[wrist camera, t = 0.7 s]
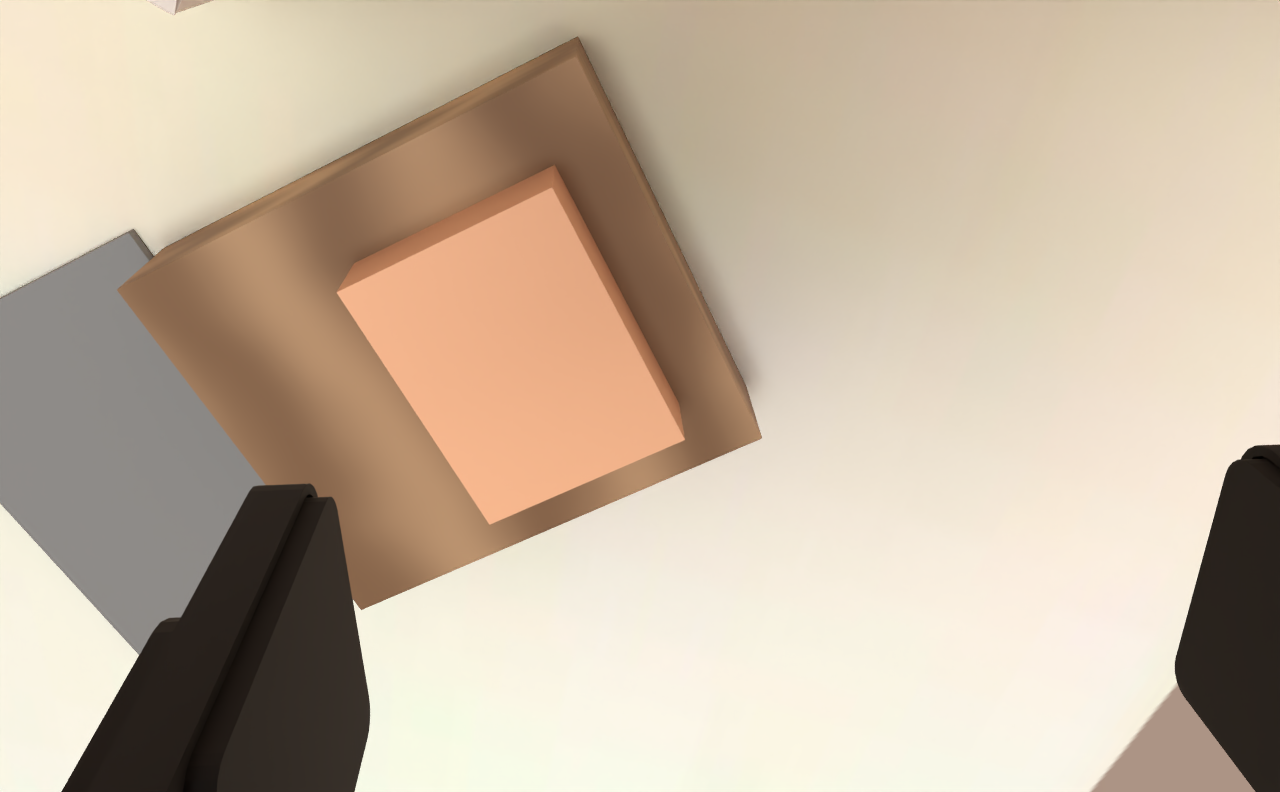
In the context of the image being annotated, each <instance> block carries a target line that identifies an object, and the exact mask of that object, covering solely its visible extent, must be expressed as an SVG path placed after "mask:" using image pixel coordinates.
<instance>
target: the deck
mask: <svg viewBox="0 0 1280 792" xmlns="http://www.w3.org/2000/svg"><path fill="white" fill-rule="evenodd" d="M553 165H555V166H556V168H557V170H558V172H559V174H560V176H561V178H562V180H563V182H564V184H565V186H566V187H567V189H568V191H569V193H570V195H571V197H572V199H573V201H574V203H575V205H576V207H577V209H578V211H579V212H580V214H581V216H582V218H583V220H584V222H585V224H586V226H587V228H588V230H589V232H590V234H591V236H592V237H593V239H594V241H595V243H596V245H597V247H598V249H599V251H600V253H601V255H602V257H603V259H604V261H605V262H606V264H607V266H608V268H609V270H610V272H611V274H612V276H613V278H614V280H615V282H616V284H617V286H618V287H619V289H620V291H621V293H622V295H623V297H624V299H625V301H626V303H627V305H628V307H629V309H630V310H631V312H632V314H633V316H634V318H635V320H636V322H637V324H638V326H639V328H640V330H641V332H642V334H643V335H644V337H645V339H646V341H647V343H648V345H649V347H650V349H651V351H652V353H653V355H654V357H655V359H656V360H657V362H658V364H659V366H660V368H661V370H662V372H663V374H664V376H665V378H666V380H667V382H668V384H669V385H670V387H671V389H672V391H673V393H674V395H675V397H676V399H677V401H678V403H679V407H680V413H681V419H682V425H683V431H684V437H685V440H684V441H682V442H679V443H677V444H675V445H672V446H670V447H668V448H665V449H663V450H661V451H658V452H656V453H654V454H652V455H649V456H647V457H645V458H642V459H640V460H638V461H635V462H633V463H631V464H629V465H626V466H624V467H622V468H619V469H617V470H615V471H612V472H610V473H608V474H605V475H603V476H601V477H599V478H596V479H594V480H592V481H589V482H587V483H585V484H582V485H580V486H578V487H576V488H573V489H571V490H569V491H566V492H564V493H562V494H559V495H557V496H555V497H552V498H550V499H548V500H546V501H543V502H541V503H539V504H536V505H534V506H532V507H529V508H527V509H525V510H522V511H520V512H518V513H516V514H513V515H511V516H509V517H506V518H504V519H502V520H499V521H497V522H495V523H493V524H490V525H489V523H488V522H487V520H486V519H485V517H484V516H483V514H482V513H481V511H480V510H479V508H478V507H477V505H476V504H475V502H474V501H473V499H472V498H471V496H470V494H469V493H468V491H467V490H466V488H465V487H464V485H463V484H462V482H461V481H460V479H459V478H458V476H457V475H456V473H455V472H454V470H453V469H452V467H451V466H450V464H449V463H448V461H447V460H446V458H445V457H444V455H443V453H442V452H441V450H440V449H439V447H438V446H437V444H436V443H435V441H434V440H433V438H432V437H431V435H430V434H429V432H428V431H427V429H426V428H425V426H424V425H423V423H422V422H421V420H420V419H419V417H418V416H417V414H416V413H415V411H414V409H413V408H412V406H411V405H410V403H409V402H408V400H407V399H406V397H405V396H404V394H403V393H402V391H401V390H400V388H399V387H398V385H397V384H396V382H395V381H394V379H393V378H392V376H391V375H390V373H389V372H388V370H387V368H386V367H385V365H384V364H383V362H382V361H381V359H380V358H379V356H378V355H377V353H376V352H375V350H374V349H373V347H372V346H371V344H370V343H369V341H368V340H367V338H366V337H365V335H364V334H363V332H362V331H361V329H360V327H359V326H358V324H357V323H356V321H355V320H354V318H353V317H352V315H351V314H350V312H349V311H348V309H347V308H346V306H345V305H344V303H343V302H342V300H341V299H340V297H339V296H338V294H337V293H336V292H337V291H338V289H339V287H340V286H341V284H342V282H343V281H344V279H345V277H346V276H347V274H348V272H349V271H350V269H351V267H352V266H353V264H354V263H356V262H358V261H360V260H362V259H364V258H366V257H368V256H370V255H372V254H374V253H376V252H378V251H380V250H382V249H384V248H386V247H388V246H390V245H392V244H394V243H396V242H398V241H401V240H403V239H405V238H407V237H409V236H411V235H413V234H415V233H417V232H419V231H421V230H423V229H425V228H427V227H429V226H431V225H433V224H435V223H437V222H439V221H441V220H443V219H445V218H447V217H449V216H451V215H453V214H455V213H458V212H460V211H462V210H464V209H466V208H468V207H470V206H472V205H474V204H476V203H478V202H480V201H482V200H484V199H486V198H488V197H490V196H492V195H494V194H496V193H498V192H500V191H502V190H504V189H506V188H508V187H510V186H513V185H515V184H517V183H519V182H521V181H523V180H525V179H527V178H529V177H531V176H533V175H535V174H537V173H539V172H541V171H543V170H545V169H547V168H549V167H551V166H553ZM117 291H118V292H119V294H120V295H121V296H122V298H123V299H124V300H125V301H126V303H127V304H128V305H129V307H130V308H131V309H132V311H133V312H134V313H135V315H136V316H137V317H138V318H139V320H140V321H141V322H142V324H143V325H144V326H145V328H146V329H147V330H148V332H149V333H150V334H151V335H152V337H153V338H154V339H155V341H156V342H157V343H158V345H159V346H160V347H161V349H162V350H163V351H164V352H165V354H166V355H167V356H168V358H169V359H170V360H171V362H172V363H173V364H174V366H175V367H176V368H177V369H178V371H179V372H180V373H181V375H182V376H183V377H184V379H185V380H186V381H187V383H188V384H189V385H190V386H191V388H192V389H193V390H194V392H195V393H196V394H197V396H198V397H199V398H200V400H201V401H202V402H203V403H204V405H205V406H206V407H207V409H208V410H209V411H210V413H211V414H212V415H213V417H214V418H215V419H216V420H217V422H218V423H219V424H220V426H221V427H222V428H223V430H224V431H225V432H226V434H227V435H228V436H229V437H230V439H231V440H232V441H233V443H234V444H235V445H236V447H237V448H238V449H239V451H240V452H241V453H242V454H243V456H244V457H245V458H246V460H247V461H248V462H249V464H250V465H251V466H252V468H253V469H254V470H255V471H256V473H257V474H258V475H259V477H260V478H261V479H262V481H263V482H264V483H265V485H283V484H308V483H311V484H312V485H313V486H314V488H315V490H316V492H317V495H318V497H332V498H333V499H334V500H335V503H336V506H337V510H338V516H339V522H340V528H341V534H342V540H343V546H344V552H345V558H346V564H347V570H348V576H349V581H350V587H351V593H352V598H353V600H354V601H355V602H356V604H357V605H358V606H359V608H360V609H361V610H362V609H365V608H367V607H369V606H372V605H374V604H376V603H379V602H381V601H383V600H386V599H388V598H390V597H393V596H395V595H397V594H400V593H402V592H404V591H407V590H409V589H411V588H414V587H416V586H418V585H421V584H423V583H425V582H428V581H430V580H432V579H435V578H437V577H439V576H442V575H444V574H446V573H449V572H451V571H453V570H456V569H458V568H460V567H463V566H465V565H467V564H470V563H472V562H474V561H477V560H479V559H481V558H484V557H486V556H488V555H491V554H493V553H495V552H498V551H500V550H502V549H505V548H507V547H509V546H512V545H514V544H516V543H519V542H521V541H523V540H526V539H528V538H530V537H533V536H535V535H537V534H540V533H542V532H544V531H547V530H549V529H551V528H554V527H556V526H558V525H561V524H563V523H565V522H568V521H570V520H572V519H575V518H577V517H579V516H582V515H584V514H586V513H589V512H591V511H593V510H596V509H598V508H600V507H603V506H605V505H607V504H610V503H612V502H614V501H617V500H619V499H621V498H624V497H626V496H628V495H631V494H633V493H635V492H638V491H640V490H642V489H645V488H647V487H649V486H652V485H654V484H656V483H659V482H661V481H663V480H666V479H668V478H670V477H673V476H675V475H677V474H680V473H682V472H684V471H687V470H689V469H691V468H694V467H696V466H698V465H701V464H703V463H705V462H708V461H710V460H712V459H715V458H717V457H719V456H722V455H724V454H726V453H729V452H731V451H733V450H736V449H738V448H740V447H743V446H745V445H747V444H750V443H752V442H754V441H757V440H759V439H761V438H762V437H761V433H760V430H759V427H758V424H757V420H756V417H755V414H754V410H753V407H752V404H751V401H750V397H749V394H748V391H747V387H746V385H745V383H744V381H743V379H742V377H741V375H740V373H739V371H738V368H737V366H736V364H735V362H734V360H733V358H732V356H731V354H730V352H729V350H728V348H727V346H726V344H725V341H724V339H723V337H722V335H721V333H720V331H719V329H718V327H717V325H716V323H715V321H714V319H713V317H712V314H711V312H710V310H709V308H708V306H707V304H706V302H705V300H704V298H703V296H702V294H701V292H700V290H699V287H698V285H697V283H696V281H695V279H694V277H693V275H692V273H691V271H690V269H689V267H688V265H687V263H686V260H685V258H684V256H683V254H682V252H681V250H680V248H679V246H678V244H677V242H676V240H675V238H674V236H673V233H672V231H671V229H670V227H669V225H668V223H667V221H666V219H665V217H664V215H663V213H662V211H661V209H660V206H659V204H658V202H657V200H656V198H655V196H654V194H653V192H652V190H651V188H650V186H649V184H648V182H647V179H646V177H645V175H644V173H643V171H642V169H641V167H640V165H639V163H638V161H637V159H636V157H635V154H634V152H633V150H632V148H631V146H630V144H629V142H628V140H627V138H626V136H625V134H624V132H623V130H622V127H621V125H620V123H619V121H618V119H617V117H616V115H615V113H614V111H613V109H612V107H611V105H610V103H609V100H608V98H607V96H606V94H605V92H604V90H603V88H602V86H601V84H600V82H599V80H598V78H597V76H596V73H595V71H594V69H593V67H592V65H591V63H590V61H589V59H588V57H587V55H586V53H585V51H584V49H583V46H582V44H581V42H580V40H579V38H578V37H576V38H574V39H572V40H570V41H568V42H566V43H564V44H562V45H560V46H558V47H556V48H554V49H552V50H550V51H549V52H547V53H545V54H543V55H541V56H539V57H537V58H535V59H533V60H531V61H529V62H527V63H525V64H523V65H521V66H519V67H517V68H515V69H513V70H511V71H509V72H507V73H505V74H504V75H502V76H500V77H498V78H496V79H494V80H492V81H490V82H488V83H486V84H484V85H482V86H480V87H478V88H476V89H474V90H472V91H470V92H468V93H466V94H464V95H462V96H460V97H459V98H457V99H455V100H453V101H451V102H449V103H447V104H445V105H443V106H441V107H439V108H437V109H435V110H433V111H431V112H429V113H427V114H425V115H423V116H421V117H419V118H417V119H415V120H414V121H412V122H410V123H408V124H406V125H404V126H402V127H400V128H398V129H396V130H394V131H392V132H390V133H388V134H386V135H384V136H382V137H380V138H378V139H376V140H374V141H372V142H370V143H369V144H367V145H365V146H363V147H361V148H359V149H357V150H355V151H353V152H351V153H349V154H347V155H345V156H343V157H341V158H339V159H337V160H335V161H333V162H331V163H329V164H327V165H325V166H323V167H322V168H320V169H318V170H316V171H314V172H312V173H310V174H308V175H306V176H304V177H302V178H300V179H298V180H296V181H294V182H292V183H290V184H288V185H286V186H284V187H282V188H280V189H278V190H277V191H275V192H273V193H271V194H269V195H267V196H265V197H263V198H261V199H259V200H257V201H255V202H253V203H251V204H249V205H247V206H245V207H243V208H241V209H239V210H237V211H235V212H233V213H232V214H230V215H228V216H226V217H224V218H222V219H220V220H218V221H216V222H214V223H212V224H210V225H208V226H206V227H204V228H202V229H200V230H198V231H196V232H194V233H192V234H190V235H188V236H187V237H185V238H183V239H181V240H179V241H177V242H175V243H173V244H171V245H169V246H167V247H165V248H163V249H162V250H161V251H160V252H159V253H158V254H157V255H155V256H154V257H153V258H152V259H151V260H150V261H149V262H147V263H146V264H145V265H144V266H143V267H142V268H141V269H140V270H138V271H137V272H136V273H135V274H134V275H133V276H132V277H130V278H129V279H128V280H127V281H126V282H125V283H124V284H123V285H121V286H120V287H119V288H118V289H117Z"/></svg>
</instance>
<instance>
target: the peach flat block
mask: <svg viewBox="0 0 1280 792" xmlns="http://www.w3.org/2000/svg"><path fill="white" fill-rule="evenodd" d="M336 293H337V294H338V296H339V297H340V299H341V300H342V302H343V303H344V305H345V306H346V308H347V309H348V311H349V312H350V314H351V315H352V317H353V318H354V320H355V321H356V323H357V324H358V326H359V327H360V329H361V331H362V332H363V334H364V335H365V337H366V338H367V340H368V341H369V343H370V344H371V346H372V347H373V349H374V350H375V352H376V353H377V355H378V356H379V358H380V359H381V361H382V362H383V364H384V365H385V367H386V368H387V370H388V372H389V373H390V375H391V376H392V378H393V379H394V381H395V382H396V384H397V385H398V387H399V388H400V390H401V391H402V393H403V394H404V396H405V397H406V399H407V400H408V402H409V403H410V405H411V406H412V408H413V409H414V411H415V413H416V414H417V416H418V417H419V419H420V420H421V422H422V423H423V425H424V426H425V428H426V429H427V431H428V432H429V434H430V435H431V437H432V438H433V440H434V441H435V443H436V444H437V446H438V447H439V449H440V450H441V452H442V453H443V455H444V457H445V458H446V460H447V461H448V463H449V464H450V466H451V467H452V469H453V470H454V472H455V473H456V475H457V476H458V478H459V479H460V481H461V482H462V484H463V485H464V487H465V488H466V490H467V491H468V493H469V494H470V496H471V498H472V499H473V501H474V502H475V504H476V505H477V507H478V508H479V510H480V511H481V513H482V514H483V516H484V517H485V519H486V520H487V522H488V523H489V525H490V524H493V523H495V522H497V521H499V520H502V519H504V518H506V517H509V516H511V515H513V514H516V513H518V512H520V511H522V510H525V509H527V508H529V507H532V506H534V505H536V504H539V503H541V502H543V501H546V500H548V499H550V498H552V497H555V496H557V495H559V494H562V493H564V492H566V491H569V490H571V489H573V488H576V487H578V486H580V485H582V484H585V483H587V482H589V481H592V480H594V479H596V478H599V477H601V476H603V475H605V474H608V473H610V472H612V471H615V470H617V469H619V468H622V467H624V466H626V465H629V464H631V463H633V462H635V461H638V460H640V459H642V458H645V457H647V456H649V455H652V454H654V453H656V452H658V451H661V450H663V449H665V448H668V447H670V446H672V445H675V444H677V443H679V442H682V441H684V440H685V437H684V431H683V425H682V419H681V413H680V407H679V403H678V401H677V399H676V397H675V395H674V393H673V391H672V389H671V387H670V385H669V384H668V382H667V380H666V378H665V376H664V374H663V372H662V370H661V368H660V366H659V364H658V362H657V360H656V359H655V357H654V355H653V353H652V351H651V349H650V347H649V345H648V343H647V341H646V339H645V337H644V335H643V334H642V332H641V330H640V328H639V326H638V324H637V322H636V320H635V318H634V316H633V314H632V312H631V310H630V309H629V307H628V305H627V303H626V301H625V299H624V297H623V295H622V293H621V291H620V289H619V287H618V286H617V284H616V282H615V280H614V278H613V276H612V274H611V272H610V270H609V268H608V266H607V264H606V262H605V261H604V259H603V257H602V255H601V253H600V251H599V249H598V247H597V245H596V243H595V241H594V239H593V237H592V236H591V234H590V232H589V230H588V228H587V226H586V224H585V222H584V220H583V218H582V216H581V214H580V212H579V211H578V209H577V207H576V205H575V203H574V201H573V199H572V197H571V195H570V193H569V191H568V189H567V187H566V186H565V184H564V182H563V180H562V178H561V176H560V174H559V172H558V170H557V168H556V166H555V165H553V166H551V167H549V168H547V169H545V170H543V171H541V172H539V173H537V174H535V175H533V176H531V177H529V178H527V179H525V180H523V181H521V182H519V183H517V184H515V185H513V186H510V187H508V188H506V189H504V190H502V191H500V192H498V193H496V194H494V195H492V196H490V197H488V198H486V199H484V200H482V201H480V202H478V203H476V204H474V205H472V206H470V207H468V208H466V209H464V210H462V211H460V212H458V213H455V214H453V215H451V216H449V217H447V218H445V219H443V220H441V221H439V222H437V223H435V224H433V225H431V226H429V227H427V228H425V229H423V230H421V231H419V232H417V233H415V234H413V235H411V236H409V237H407V238H405V239H403V240H401V241H398V242H396V243H394V244H392V245H390V246H388V247H386V248H384V249H382V250H380V251H378V252H376V253H374V254H372V255H370V256H368V257H366V258H364V259H362V260H360V261H358V262H356V263H354V264H353V266H352V267H351V269H350V271H349V272H348V274H347V276H346V277H345V279H344V281H343V282H342V284H341V286H340V287H339V289H338V291H337V292H336Z"/></svg>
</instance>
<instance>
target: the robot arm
mask: <svg viewBox="0 0 1280 792" xmlns="http://www.w3.org/2000/svg"><path fill="white" fill-rule="evenodd" d="M1175 674H1176V679H1177V683H1178V686H1179V688H1180V690H1181V692H1182V694H1183V696H1184V697H1185V698H1186V700H1187V701H1188V702H1189V704H1190V705H1191V706H1192V708H1193V709H1194V710H1195V712H1196V713H1197V714H1198V716H1199V717H1200V718H1201V720H1202V721H1203V722H1204V724H1205V725H1206V726H1207V728H1208V729H1209V730H1210V732H1211V733H1212V734H1213V736H1214V737H1215V738H1216V740H1217V741H1218V742H1219V744H1220V745H1221V746H1222V748H1223V749H1224V750H1225V752H1226V753H1227V754H1228V756H1229V757H1230V758H1231V760H1232V761H1233V762H1234V764H1235V765H1236V766H1237V767H1238V769H1239V770H1240V772H1241V773H1242V774H1243V775H1244V777H1245V778H1246V780H1247V781H1248V782H1249V784H1250V785H1251V786H1252V788H1253V789H1254V790H1255V791H1256V792H1280V445H1258V446H1254V447H1252V448H1249V449H1248V450H1247V451H1246V452H1245V453H1244V455H1243V456H1242V458H1241V460H1237V461H1235V462H1233V463H1232V464H1231V465H1230V466H1229V467H1228V470H1227V472H1226V475H1225V478H1224V482H1223V486H1222V490H1221V493H1220V497H1219V501H1218V504H1217V508H1216V512H1215V515H1214V519H1213V523H1212V526H1211V530H1210V534H1209V537H1208V541H1207V545H1206V548H1205V552H1204V556H1203V559H1202V563H1201V567H1200V570H1199V574H1198V578H1197V582H1196V585H1195V589H1194V593H1193V596H1192V600H1191V604H1190V607H1189V611H1188V615H1187V618H1186V622H1185V626H1184V629H1183V633H1182V637H1181V640H1180V644H1179V648H1178V651H1177V655H1176V660H1175ZM369 724H370V703H369V695H368V689H367V683H366V677H365V671H364V665H363V659H362V653H361V647H360V641H359V635H358V629H357V623H356V617H355V611H354V605H353V599H352V593H351V587H350V581H349V576H348V570H347V564H346V558H345V552H344V546H343V540H342V534H341V528H340V522H339V516H338V510H337V506H336V503H335V500H334V499H333V498H332V497H318V495H317V492H316V490H315V488H314V486H313V485H312V484H311V483H308V484H283V485H258V486H253V487H252V489H251V490H250V491H249V493H248V494H247V496H246V498H245V500H244V502H243V504H242V505H241V507H240V509H239V511H238V513H237V515H236V517H235V518H234V520H233V522H232V524H231V526H230V528H229V529H228V531H227V533H226V535H225V537H224V539H223V541H222V542H221V544H220V546H219V548H218V550H217V552H216V553H215V555H214V557H213V559H212V561H211V563H210V565H209V566H208V568H207V570H206V572H205V574H204V576H203V577H202V579H201V581H200V583H199V585H198V587H197V589H196V590H195V592H194V594H193V596H192V598H191V600H190V601H189V603H188V605H187V607H186V609H185V611H184V613H183V614H182V616H181V617H176V618H168V619H166V620H163V621H161V622H160V623H159V624H158V626H157V627H156V628H155V630H154V631H153V632H152V634H151V635H150V637H149V639H148V641H147V643H146V644H145V646H144V648H143V650H142V651H141V653H140V655H139V657H138V658H137V660H136V662H135V664H134V665H133V667H132V669H131V671H130V672H129V674H128V676H127V678H126V679H125V681H124V683H123V685H122V686H121V688H120V690H119V692H118V693H117V695H116V697H115V699H114V700H113V702H112V704H111V706H110V707H109V709H108V711H107V713H106V715H105V716H104V718H103V720H102V722H101V723H100V725H99V727H98V729H97V730H96V732H95V734H94V736H93V737H92V739H91V741H90V743H89V744H88V746H87V748H86V750H85V751H84V753H83V755H82V757H81V758H80V760H79V762H78V764H77V765H76V767H75V769H74V771H73V772H72V774H71V776H70V778H69V779H68V781H67V783H66V785H65V787H64V788H63V790H62V792H354V791H355V787H356V783H357V779H358V774H359V770H360V766H361V762H362V758H363V754H364V750H365V746H366V742H367V738H368V732H369Z"/></svg>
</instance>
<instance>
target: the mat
mask: <svg viewBox="0 0 1280 792" xmlns="http://www.w3.org/2000/svg"><path fill="white" fill-rule="evenodd" d="M152 258H153V255H152V254H151V253H150V251H149V250H148V248H147V247H146V246H145V244H144V243H143V242H142V240H141V239H140V238H139V236H138V235H137V234H136V232H135V231H134V229H133V230H131V231H129V232H127V233H125V234H123V235H121V236H119V237H117V238H115V239H113V240H112V241H110V242H108V243H106V244H104V245H102V246H100V247H98V248H96V249H94V250H92V251H90V252H88V253H86V254H85V255H83V256H81V257H79V258H77V259H75V260H73V261H71V262H69V263H67V264H65V265H63V266H61V267H59V268H57V269H56V270H54V271H52V272H50V273H48V274H46V275H44V276H42V277H40V278H38V279H36V280H34V281H32V282H30V283H28V284H27V285H25V286H23V287H21V288H19V289H17V290H15V291H13V292H11V293H9V294H7V295H5V296H3V297H1V298H0V504H1V505H2V506H3V507H4V508H5V509H6V510H7V511H8V512H9V513H10V514H11V516H12V517H13V518H14V519H15V520H16V521H17V522H18V523H19V524H20V525H21V527H22V528H23V529H24V530H25V531H26V532H27V533H28V534H29V535H30V536H31V537H32V539H33V540H34V541H35V542H36V543H37V544H38V545H39V546H40V547H41V548H42V549H43V551H44V552H45V553H46V554H47V555H48V556H49V557H50V558H51V559H52V560H53V561H54V563H55V564H56V565H57V566H58V567H59V568H60V569H61V570H62V571H63V572H64V573H65V575H66V576H67V577H68V578H69V579H70V580H71V581H72V582H73V583H74V584H75V585H76V587H77V588H78V589H79V590H80V591H81V592H82V593H83V594H84V595H85V596H86V597H87V599H88V600H89V601H90V602H91V603H92V604H93V605H94V606H95V607H96V608H97V609H98V611H99V612H100V613H101V614H102V615H103V616H104V617H105V618H106V619H107V620H108V621H109V623H110V624H111V625H112V626H113V627H114V628H115V629H116V630H117V631H118V632H119V633H120V635H121V636H122V637H123V638H124V639H125V640H126V641H127V642H128V643H129V644H130V646H131V647H132V648H133V649H134V650H135V651H136V652H137V653H138V654H139V655H140V653H141V651H142V650H143V648H144V646H145V644H146V643H147V641H148V639H149V637H150V635H151V634H152V632H153V631H154V630H155V628H156V627H157V626H158V624H159V623H160V622H161V621H163V620H166V619H168V618H176V617H181V616H182V614H183V613H184V611H185V609H186V607H187V605H188V603H189V601H190V600H191V598H192V596H193V594H194V592H195V590H196V589H197V587H198V585H199V583H200V581H201V579H202V577H203V576H204V574H205V572H206V570H207V568H208V566H209V565H210V563H211V561H212V559H213V557H214V555H215V553H216V552H217V550H218V548H219V546H220V544H221V542H222V541H223V539H224V537H225V535H226V533H227V531H228V529H229V528H230V526H231V524H232V522H233V520H234V518H235V517H236V515H237V513H238V511H239V509H240V507H241V505H242V504H243V502H244V500H245V498H246V496H247V494H248V493H249V491H250V490H251V489H252V487H253V486H258V485H265V483H264V482H263V481H262V479H261V478H260V477H259V475H258V474H257V473H256V471H255V470H254V469H253V468H252V466H251V465H250V464H249V462H248V461H247V460H246V458H245V457H244V456H243V454H242V453H241V452H240V451H239V449H238V448H237V447H236V445H235V444H234V443H233V441H232V440H231V439H230V437H229V436H228V435H227V434H226V432H225V431H224V430H223V428H222V427H221V426H220V424H219V423H218V422H217V420H216V419H215V418H214V417H213V415H212V414H211V413H210V411H209V410H208V409H207V407H206V406H205V405H204V403H203V402H202V401H201V400H200V398H199V397H198V396H197V394H196V393H195V392H194V390H193V389H192V388H191V386H190V385H189V384H188V383H187V381H186V380H185V379H184V377H183V376H182V375H181V373H180V372H179V371H178V369H177V368H176V367H175V366H174V364H173V363H172V362H171V360H170V359H169V358H168V356H167V355H166V354H165V352H164V351H163V350H162V349H161V347H160V346H159V345H158V343H157V342H156V341H155V339H154V338H153V337H152V335H151V334H150V333H149V332H148V330H147V329H146V328H145V326H144V325H143V324H142V322H141V321H140V320H139V318H138V317H137V316H136V315H135V313H134V312H133V311H132V309H131V308H130V307H129V305H128V304H127V303H126V301H125V300H124V299H123V298H122V296H121V295H120V294H119V292H118V291H117V289H118V288H119V287H120V286H121V285H123V284H124V283H125V282H126V281H127V280H128V279H129V278H130V277H132V276H133V275H134V274H135V273H136V272H137V271H138V270H140V269H141V268H142V267H143V266H144V265H145V264H146V263H147V262H149V261H150V260H151V259H152Z"/></svg>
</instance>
